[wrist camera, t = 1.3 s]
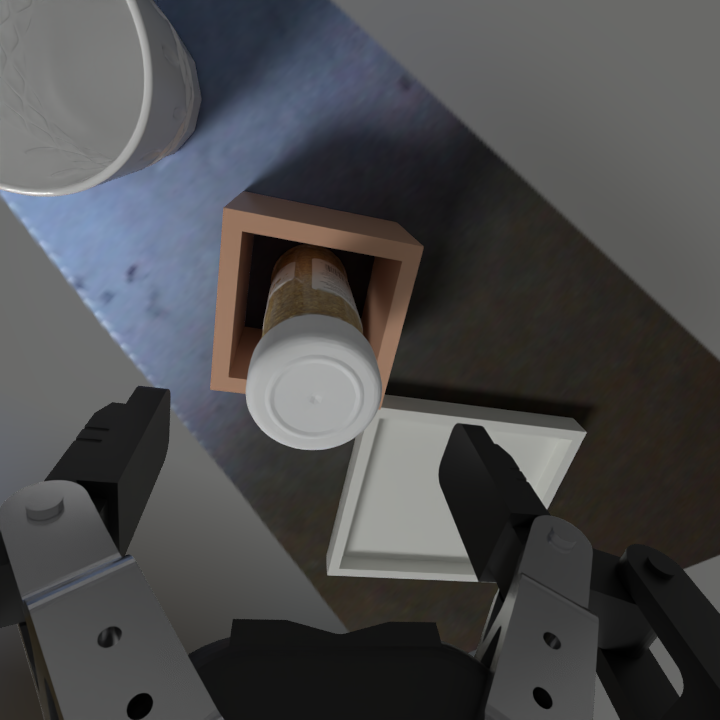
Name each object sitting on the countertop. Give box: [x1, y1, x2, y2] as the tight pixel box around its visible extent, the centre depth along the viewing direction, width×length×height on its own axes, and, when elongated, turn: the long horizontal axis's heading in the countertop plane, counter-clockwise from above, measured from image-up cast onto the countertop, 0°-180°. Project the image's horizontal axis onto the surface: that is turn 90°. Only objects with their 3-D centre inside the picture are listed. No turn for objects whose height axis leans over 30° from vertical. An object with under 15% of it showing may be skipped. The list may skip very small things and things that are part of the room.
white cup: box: [0, 0, 202, 196], centre depth 17 cm, size 8×8×10 cm
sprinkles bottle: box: [246, 244, 382, 450], centre depth 20 cm, size 5×4×13 cm
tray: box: [326, 394, 587, 583], centre depth 34 cm, size 16×16×2 cm
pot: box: [210, 191, 424, 410], centre depth 23 cm, size 9×9×6 cm
